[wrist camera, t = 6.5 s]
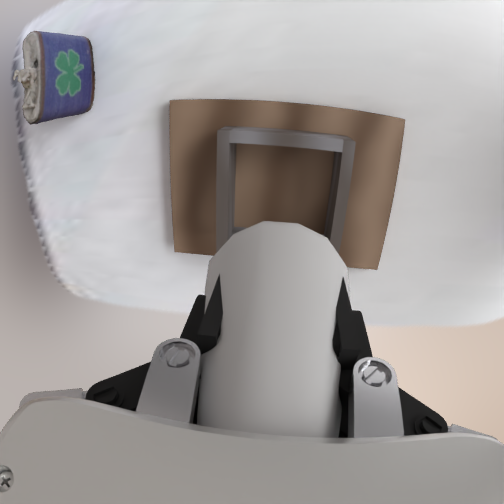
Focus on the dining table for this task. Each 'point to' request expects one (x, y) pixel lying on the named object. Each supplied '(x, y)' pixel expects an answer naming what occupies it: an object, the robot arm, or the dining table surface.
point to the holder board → (282, 173)
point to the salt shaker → (274, 334)
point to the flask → (56, 76)
